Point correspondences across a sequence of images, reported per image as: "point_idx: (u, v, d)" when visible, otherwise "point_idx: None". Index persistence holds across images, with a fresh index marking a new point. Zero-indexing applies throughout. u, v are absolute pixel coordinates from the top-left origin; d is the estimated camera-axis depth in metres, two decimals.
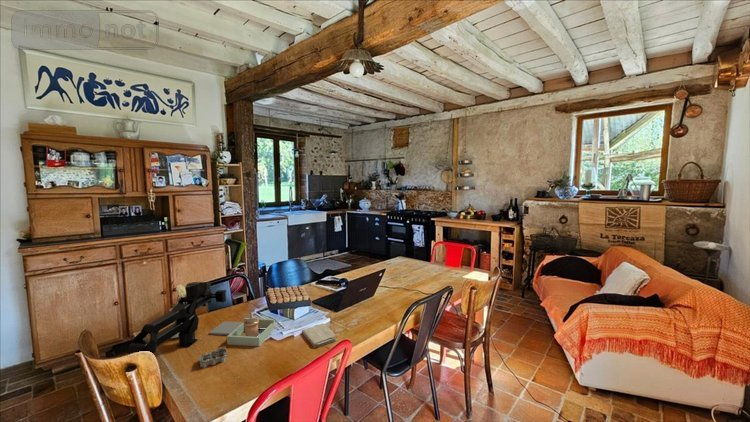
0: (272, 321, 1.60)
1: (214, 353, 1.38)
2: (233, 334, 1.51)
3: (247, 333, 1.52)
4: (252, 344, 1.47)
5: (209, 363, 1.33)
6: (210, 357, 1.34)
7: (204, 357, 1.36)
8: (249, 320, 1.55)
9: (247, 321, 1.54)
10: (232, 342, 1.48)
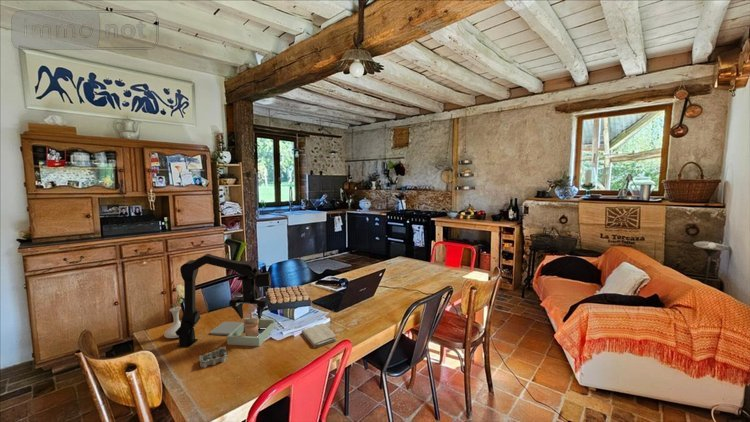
0: (272, 321, 1.60)
1: (214, 353, 1.38)
2: (233, 334, 1.51)
3: (247, 333, 1.52)
4: (252, 344, 1.47)
5: (209, 363, 1.32)
6: (210, 357, 1.34)
7: (204, 357, 1.36)
8: (249, 320, 1.55)
9: (247, 321, 1.54)
10: (232, 342, 1.48)
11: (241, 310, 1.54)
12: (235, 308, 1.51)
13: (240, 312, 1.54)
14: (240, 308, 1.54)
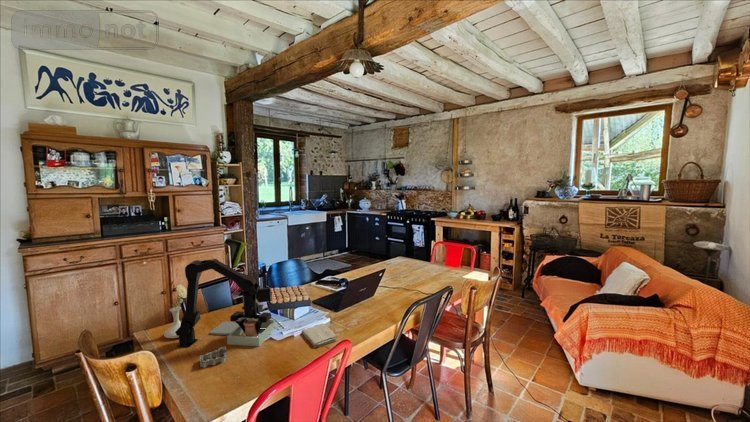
0: (272, 321, 1.60)
1: (214, 353, 1.38)
2: (233, 334, 1.51)
3: (247, 333, 1.52)
4: (252, 344, 1.47)
5: (209, 363, 1.32)
6: (210, 357, 1.34)
7: (204, 357, 1.36)
8: (249, 320, 1.55)
9: (247, 321, 1.54)
10: (232, 342, 1.48)
11: None
12: (239, 323, 1.52)
13: (244, 327, 1.54)
14: None
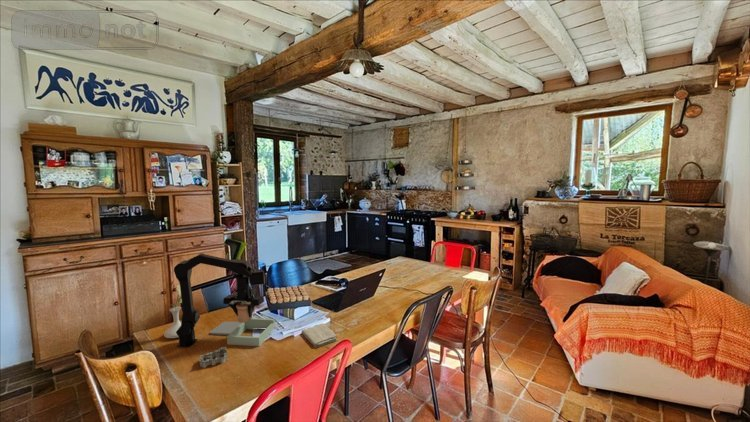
0: (272, 321, 1.60)
1: (215, 353, 1.38)
2: (233, 334, 1.51)
3: (240, 316, 1.53)
4: (252, 344, 1.47)
5: (209, 363, 1.32)
6: (210, 357, 1.34)
7: (205, 357, 1.37)
8: (242, 303, 1.56)
9: (240, 304, 1.55)
10: (232, 342, 1.48)
11: None
12: (232, 306, 1.53)
13: (237, 310, 1.55)
14: None
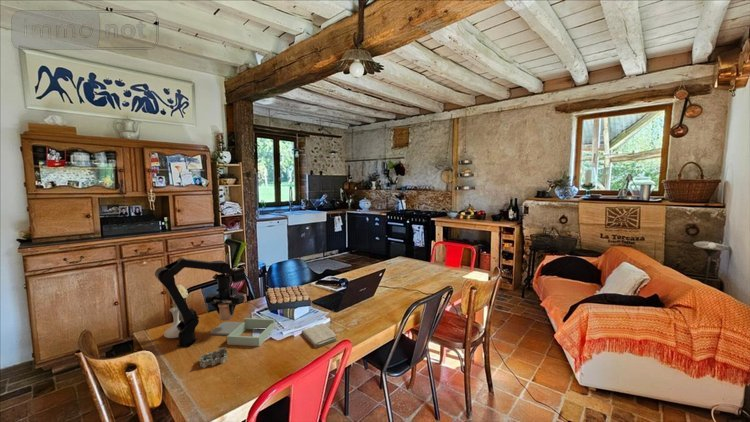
0: (272, 321, 1.60)
1: (215, 353, 1.38)
2: (233, 334, 1.51)
3: (221, 314, 1.59)
4: (252, 344, 1.47)
5: (209, 363, 1.32)
6: (210, 357, 1.34)
7: (205, 357, 1.37)
8: (223, 302, 1.62)
9: (221, 303, 1.61)
10: (232, 342, 1.48)
11: None
12: (213, 305, 1.60)
13: (218, 309, 1.62)
14: None
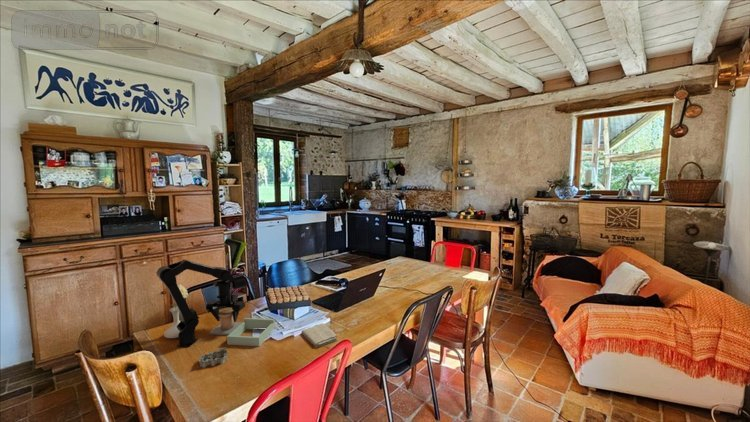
0: (272, 321, 1.60)
1: (216, 353, 1.38)
2: (233, 334, 1.51)
3: (222, 324, 1.60)
4: (252, 344, 1.47)
5: (208, 363, 1.32)
6: (210, 357, 1.34)
7: (206, 356, 1.37)
8: (224, 311, 1.63)
9: (222, 312, 1.62)
10: (232, 342, 1.48)
11: (218, 313, 1.63)
12: (212, 311, 1.60)
13: (217, 315, 1.62)
14: (217, 311, 1.63)
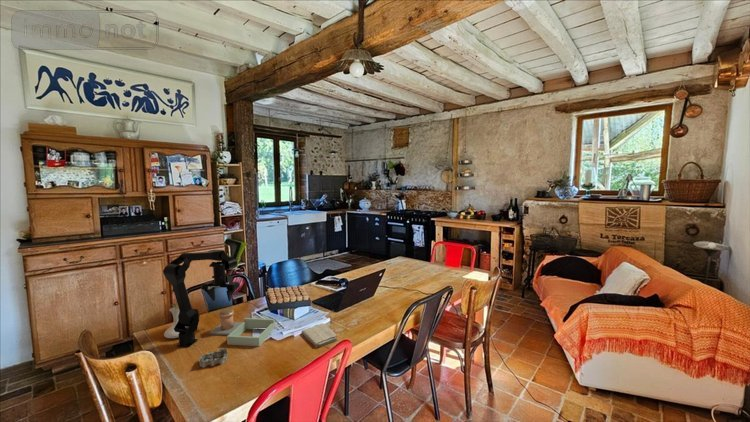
0: (272, 321, 1.60)
1: (216, 353, 1.38)
2: (233, 334, 1.51)
3: (222, 324, 1.60)
4: (252, 344, 1.47)
5: (208, 363, 1.32)
6: (210, 357, 1.34)
7: (206, 356, 1.37)
8: (224, 311, 1.63)
9: (222, 312, 1.62)
10: (232, 342, 1.48)
11: (213, 293, 1.70)
12: (207, 291, 1.67)
13: (212, 295, 1.69)
14: (212, 291, 1.70)
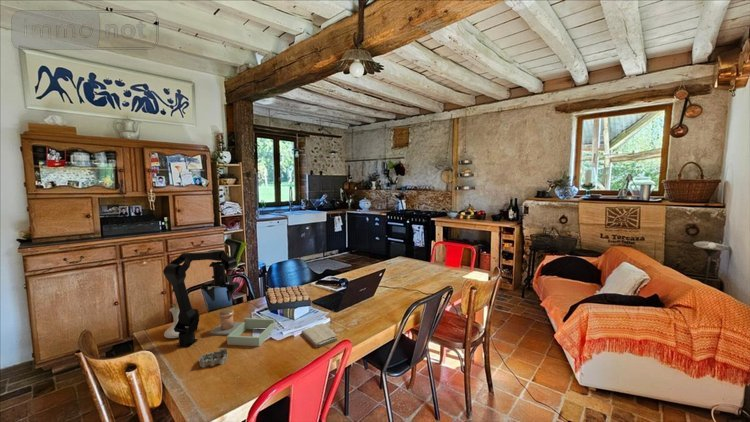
0: (272, 321, 1.60)
1: (216, 353, 1.38)
2: (233, 334, 1.51)
3: (222, 324, 1.60)
4: (252, 344, 1.47)
5: (208, 363, 1.32)
6: (210, 357, 1.34)
7: (207, 356, 1.37)
8: (224, 311, 1.63)
9: (222, 312, 1.62)
10: (232, 342, 1.48)
11: (213, 293, 1.70)
12: (207, 291, 1.67)
13: (212, 295, 1.69)
14: (212, 291, 1.70)
